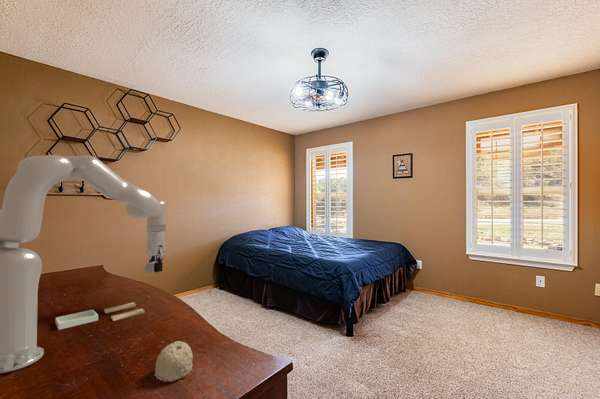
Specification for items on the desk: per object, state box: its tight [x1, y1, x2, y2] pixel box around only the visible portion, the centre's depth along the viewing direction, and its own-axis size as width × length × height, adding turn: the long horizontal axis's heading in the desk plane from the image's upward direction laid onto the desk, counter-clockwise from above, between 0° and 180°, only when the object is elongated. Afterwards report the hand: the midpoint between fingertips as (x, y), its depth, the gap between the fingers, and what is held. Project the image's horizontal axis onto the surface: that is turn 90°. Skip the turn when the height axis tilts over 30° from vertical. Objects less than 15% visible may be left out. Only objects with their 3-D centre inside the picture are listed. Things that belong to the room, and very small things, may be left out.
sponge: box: [154, 340, 194, 381], centre depth 76 cm, size 9×10×10 cm
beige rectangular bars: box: [103, 302, 146, 322], centre depth 117 cm, size 14×11×1 cm
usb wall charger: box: [142, 262, 155, 274], centre depth 124 cm, size 4×7×4 cm, turn 166°
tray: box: [54, 309, 99, 331], centre depth 108 cm, size 8×12×2 cm
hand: (155, 270), depth 126 cm, fingers closed on usb wall charger, 5 cm apart
